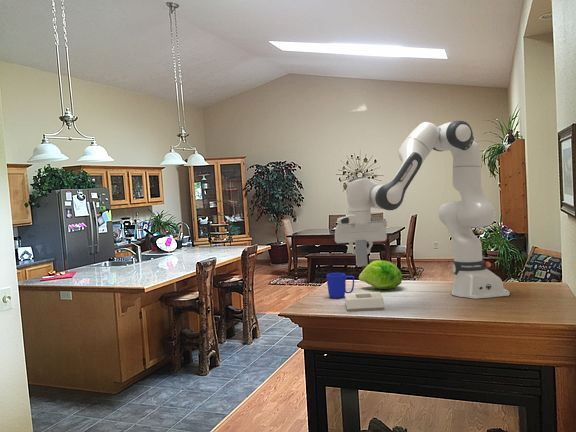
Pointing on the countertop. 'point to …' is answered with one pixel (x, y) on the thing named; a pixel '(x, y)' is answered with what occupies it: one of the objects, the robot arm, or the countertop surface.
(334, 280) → the mug
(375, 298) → the well block
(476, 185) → the robot arm
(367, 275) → the lettuce
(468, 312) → the countertop surface
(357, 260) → the grey brushed prism
